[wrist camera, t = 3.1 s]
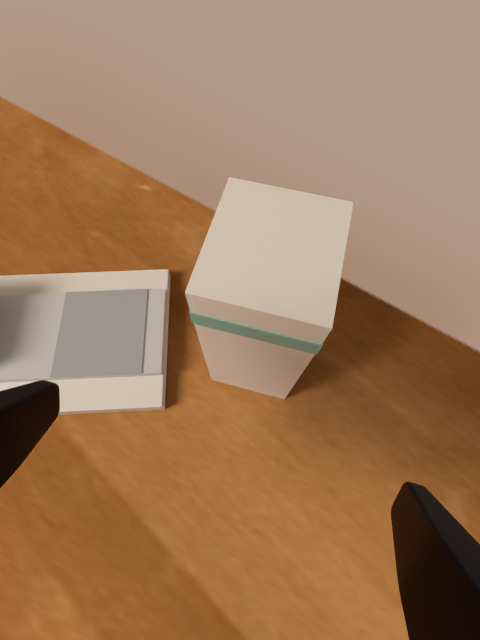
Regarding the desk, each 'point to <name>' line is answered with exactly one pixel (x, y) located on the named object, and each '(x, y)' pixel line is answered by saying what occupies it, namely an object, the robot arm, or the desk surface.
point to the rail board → (88, 337)
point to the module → (267, 284)
